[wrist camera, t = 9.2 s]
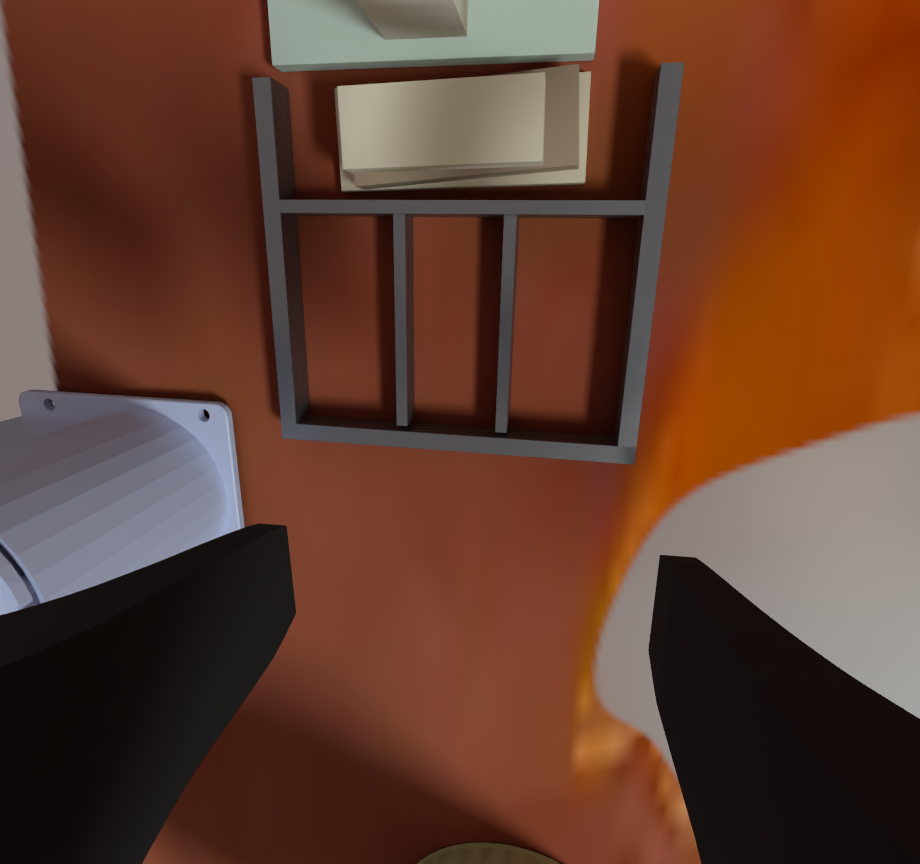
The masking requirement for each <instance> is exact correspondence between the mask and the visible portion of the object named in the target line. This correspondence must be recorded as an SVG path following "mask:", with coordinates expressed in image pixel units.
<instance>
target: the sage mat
mask: <svg viewBox="0 0 920 864" xmlns="http://www.w3.org/2000/svg"><path fill="white" fill-rule="evenodd" d="M267 1H268V14H269V28H270V41H271V55H272V66H274V67H275V68H277V69H278V70H280V71H281V72H289V71H316V70H343V69H370V68H397V67H424V66H452V65H479V64H506V63H533V62H560V61H587V60H594V55H595V45H596V32H597V20H598V8H599V0H468V18H467V36H465V37H443V38H421V39H399V40H385V38H384V37H383V36H382V34H381V33H380V32H379V30H378V29H377V28H376V26H375V25H374V24H373V22H372V21H371V20H370V18H369V17H368V16H367V14H366V13H365V12H364V10H363V9H362V8H361V6H360V5H359V4H358V2H357V1H356V0H267Z"/></svg>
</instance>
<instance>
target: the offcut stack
mask: <svg viewBox="0 0 920 864" xmlns="http://www.w3.org/2000/svg"><path fill="white" fill-rule="evenodd" d="M590 81H591V72H579V64H573V65H566V66H558V67H550V68H542V69H535V70H527V71H519V72H511V73H503V74H496V75H488V76H480V77H467V78H452V79H437V80H422V81H408V82H393V83H378V84H363V85H349V86H337V89H334V92H335V106H336V120H337V134H338V148H339V162H340V176H341V190H342V191H343V192H373V191H402V190H431V189H460V188H489V187H518V186H547V185H576V184H585V174H586V156H587V137H588V118H589V100H590Z"/></svg>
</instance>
